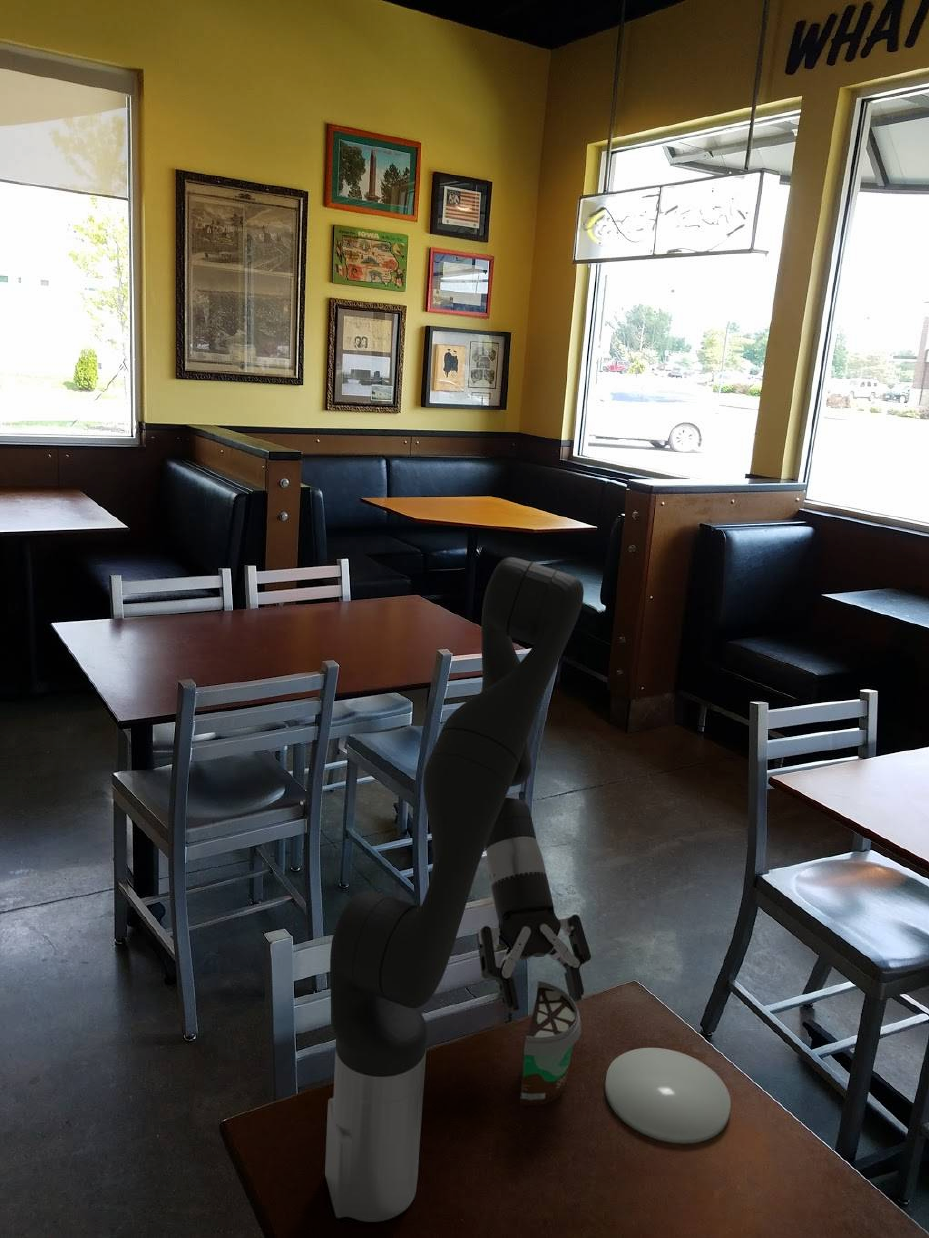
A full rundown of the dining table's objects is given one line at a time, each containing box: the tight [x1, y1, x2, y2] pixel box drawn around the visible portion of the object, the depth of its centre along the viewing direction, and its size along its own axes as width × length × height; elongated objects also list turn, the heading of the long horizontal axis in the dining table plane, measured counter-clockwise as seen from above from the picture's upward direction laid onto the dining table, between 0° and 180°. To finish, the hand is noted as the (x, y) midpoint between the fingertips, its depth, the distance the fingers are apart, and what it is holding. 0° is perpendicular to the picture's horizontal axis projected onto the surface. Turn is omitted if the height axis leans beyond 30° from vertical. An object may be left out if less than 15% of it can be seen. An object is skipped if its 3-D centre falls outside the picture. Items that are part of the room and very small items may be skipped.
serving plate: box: [604, 1047, 732, 1145], centre depth 119 cm, size 15×15×1 cm
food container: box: [519, 980, 582, 1106], centre depth 119 cm, size 12×6×10 cm, turn 168°
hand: (545, 1006), depth 121 cm, fingers open, 8 cm apart
